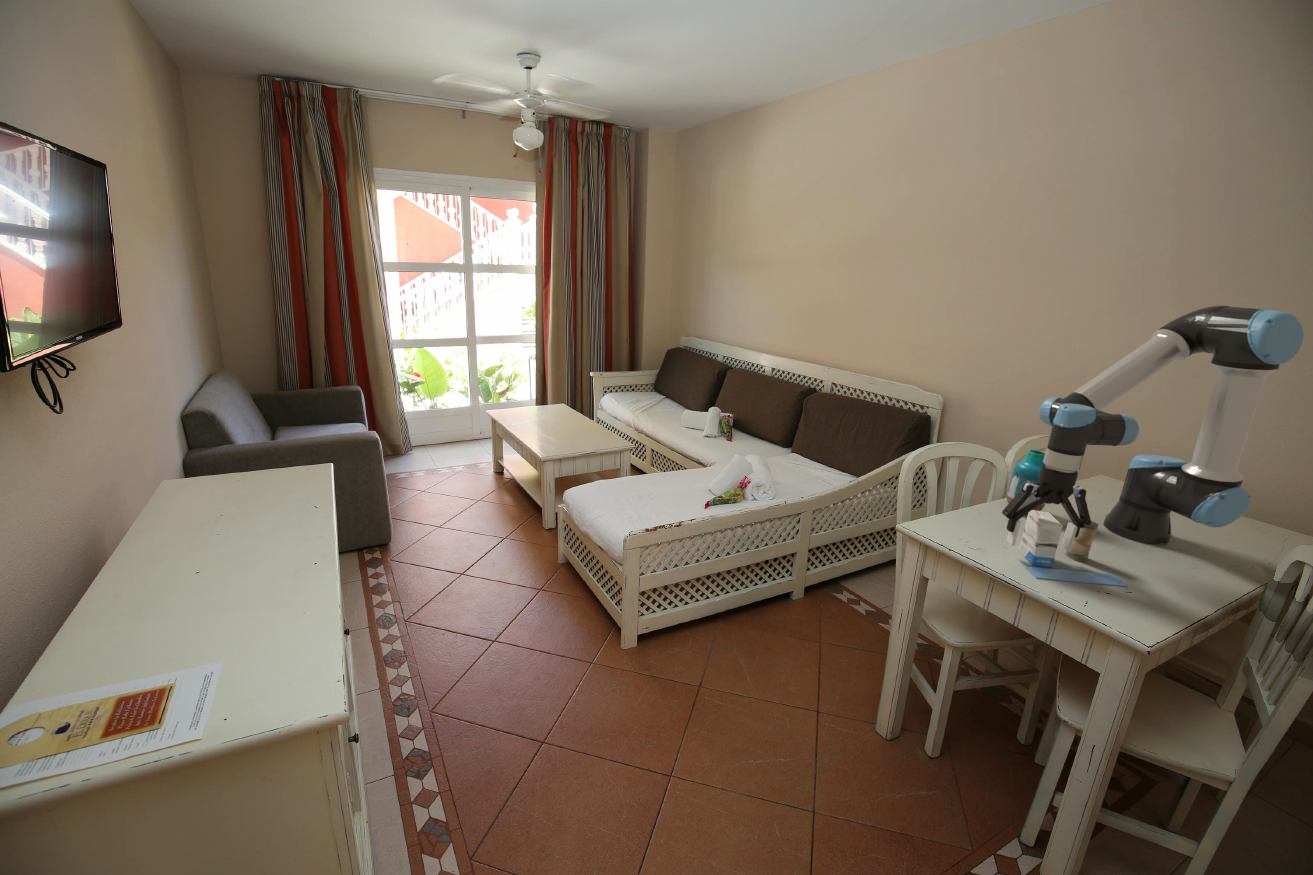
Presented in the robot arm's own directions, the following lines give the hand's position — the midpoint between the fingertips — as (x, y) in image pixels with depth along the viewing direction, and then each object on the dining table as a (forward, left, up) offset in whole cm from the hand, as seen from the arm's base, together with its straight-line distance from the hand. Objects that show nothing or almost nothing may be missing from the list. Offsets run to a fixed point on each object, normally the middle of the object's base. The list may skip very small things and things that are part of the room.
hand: (1038, 545), depth 148 cm
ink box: (0, 0, -4) cm, 4 cm away
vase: (-13, -32, -4) cm, 35 cm away
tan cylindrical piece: (-12, -3, -4) cm, 13 cm away
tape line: (-6, +8, -4) cm, 10 cm away
